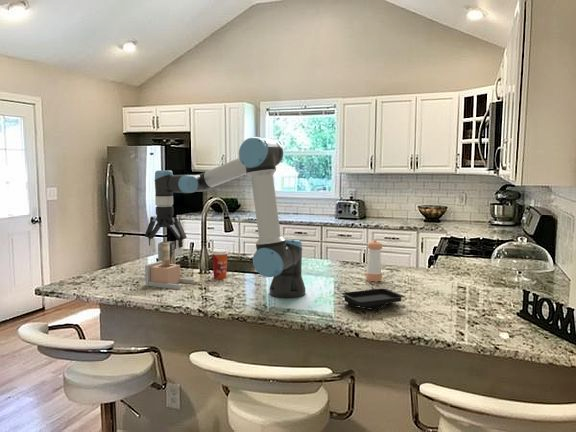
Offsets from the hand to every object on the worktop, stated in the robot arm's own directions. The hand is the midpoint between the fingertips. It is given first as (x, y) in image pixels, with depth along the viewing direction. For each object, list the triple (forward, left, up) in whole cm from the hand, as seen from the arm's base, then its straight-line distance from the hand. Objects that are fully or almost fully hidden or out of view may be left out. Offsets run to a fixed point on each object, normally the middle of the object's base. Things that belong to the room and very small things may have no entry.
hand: (165, 254), depth 207 cm
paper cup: (-16, -20, -15) cm, 29 cm away
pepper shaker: (-83, -48, -15) cm, 97 cm away
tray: (-91, -7, -15) cm, 92 cm away
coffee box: (+13, -19, -15) cm, 27 cm away
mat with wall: (-2, -4, -14) cm, 15 cm away
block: (0, 0, -13) cm, 13 cm away
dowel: (0, 0, -9) cm, 9 cm away
